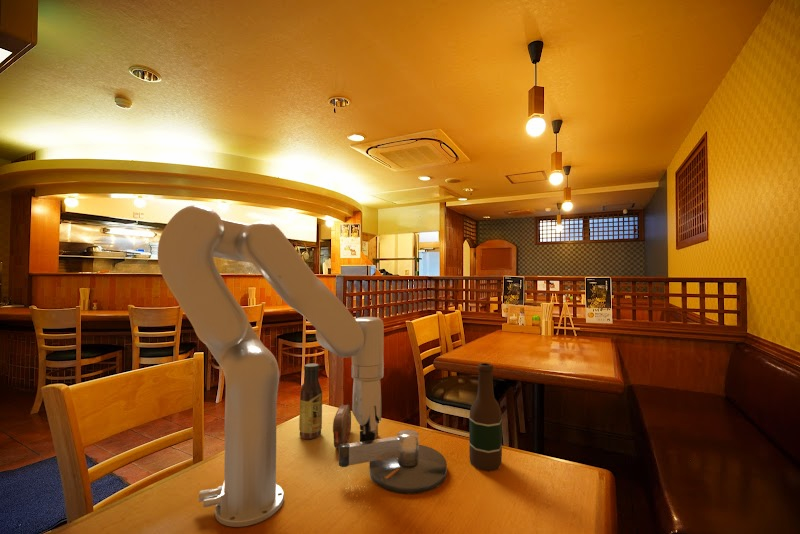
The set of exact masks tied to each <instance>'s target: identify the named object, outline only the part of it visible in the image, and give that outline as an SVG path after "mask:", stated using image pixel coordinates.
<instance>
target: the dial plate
mask: <svg viewBox="0 0 800 534" xmlns="http://www.w3.org/2000/svg"><path fill="white" fill-rule="evenodd" d="M447 463H448V462H447V460H446V458H445V457H444V455H443V454H442V453H440V451H438V450H436V449H434V448H432V447H429V446H427V445H424V444H423V445H422V444H419V462H418V463H417V464H415V465H413V466H404V465H401V464H399V463H398V461H397V457H395V458H389V459H383V460H377V461H371V462H369V467H368V468H369V471H368V472H369V476H370V479H371V481H372V482H373V483H374V484H375V485H376V486H378V487H379V488H381V489H383V490H385V491H387V492H391V493H395V494H399V495H418V494H423V493H428V492H430V491H433V490H435V489H437V488H438V487H440V486H441V485H442V484H443V483H444V482H445V480H446V478H447V472H448V471H447V468H448V467H447Z"/></svg>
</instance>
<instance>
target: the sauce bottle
mask: <svg viewBox="0 0 800 534" xmlns="http://www.w3.org/2000/svg"><path fill="white" fill-rule="evenodd" d="M303 369H304V383H303V384H302V385H301V387H300V391H299V395H300V396H299V397H300V398H299V419H298V421H299V422H298V427H299V430H298V431H299V437H300V438H301V439H303V440H312V439H316V438H319V437H320V436H321V434H322V429H323V390H322V386H321V384H320V381H319V370H320V365H319V364H318V363H306V364H305V365H304V368H303Z"/></svg>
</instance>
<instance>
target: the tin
mask: <svg viewBox="0 0 800 534" xmlns="http://www.w3.org/2000/svg"><path fill="white" fill-rule="evenodd" d="M351 430H352V409H351V406H350V404H342V405H339V407H338V409H337V411H336V413H335V415H334V417H333V422H332V432H333V445H334V446H333V447H334V448H335V449H339V445H340V444H343V443H347V444H348V442H349V438H350V436H351Z"/></svg>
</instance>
